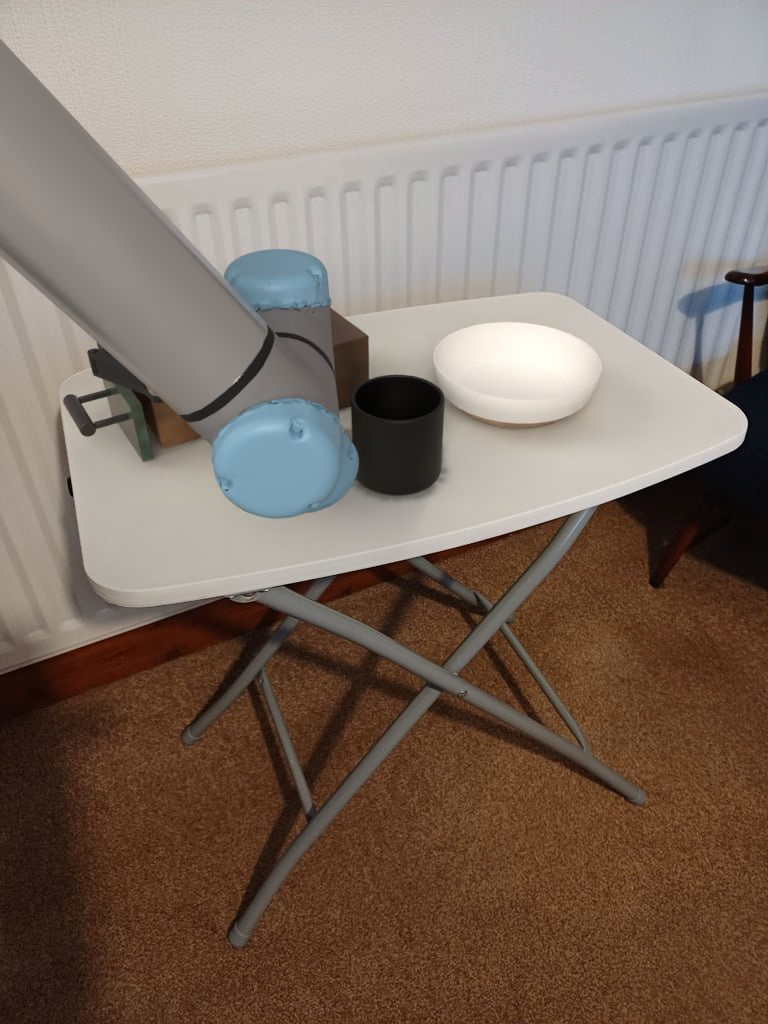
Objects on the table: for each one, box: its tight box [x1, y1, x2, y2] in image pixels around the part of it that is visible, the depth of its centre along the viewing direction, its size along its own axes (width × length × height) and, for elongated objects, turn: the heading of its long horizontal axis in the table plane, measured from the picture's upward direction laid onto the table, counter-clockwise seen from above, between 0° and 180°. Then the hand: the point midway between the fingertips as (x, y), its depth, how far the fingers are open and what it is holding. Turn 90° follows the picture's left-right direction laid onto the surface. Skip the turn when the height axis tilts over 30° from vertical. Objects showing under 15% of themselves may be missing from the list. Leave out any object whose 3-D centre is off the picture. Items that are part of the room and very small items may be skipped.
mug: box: [350, 374, 446, 496], centre depth 82 cm, size 9×12×9 cm
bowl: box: [432, 321, 603, 429], centre depth 93 cm, size 20×20×6 cm
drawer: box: [62, 379, 202, 462], centre depth 87 cm, size 20×11×7 cm, turn 122°
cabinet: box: [331, 307, 370, 411], centre depth 94 cm, size 16×13×9 cm
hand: (163, 311), depth 85 cm, fingers open, 13 cm apart
